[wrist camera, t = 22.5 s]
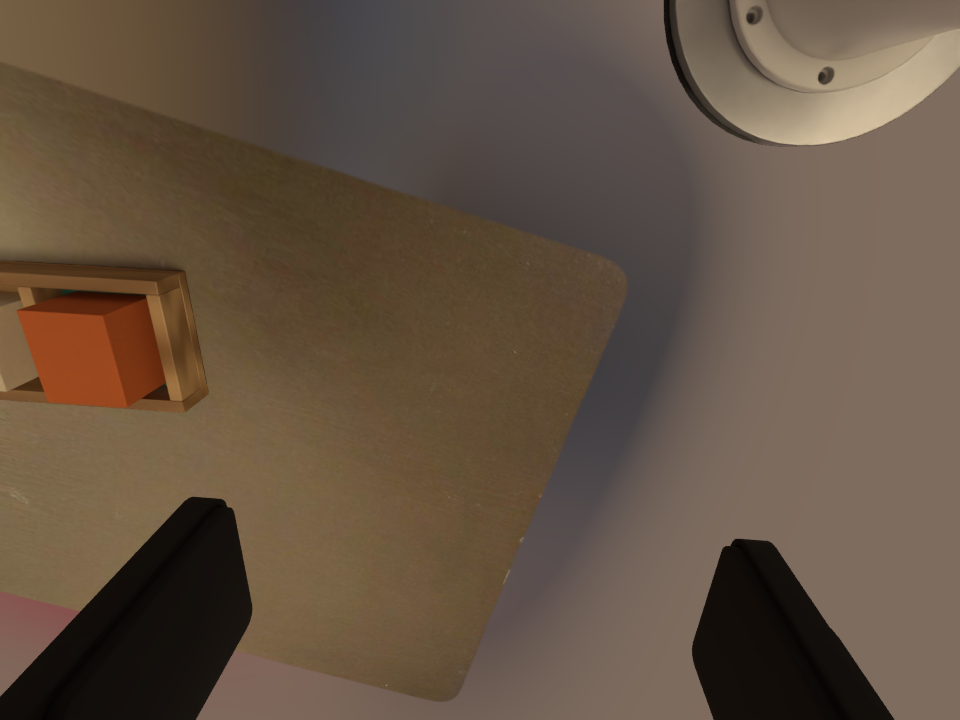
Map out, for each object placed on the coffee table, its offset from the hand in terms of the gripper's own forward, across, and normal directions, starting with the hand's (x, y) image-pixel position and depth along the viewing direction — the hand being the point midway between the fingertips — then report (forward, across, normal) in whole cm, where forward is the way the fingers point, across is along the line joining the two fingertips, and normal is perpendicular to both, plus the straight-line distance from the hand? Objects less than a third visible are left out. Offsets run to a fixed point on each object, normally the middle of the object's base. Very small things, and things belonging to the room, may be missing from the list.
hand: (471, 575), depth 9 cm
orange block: (+27, +29, +7) cm, 41 cm away
